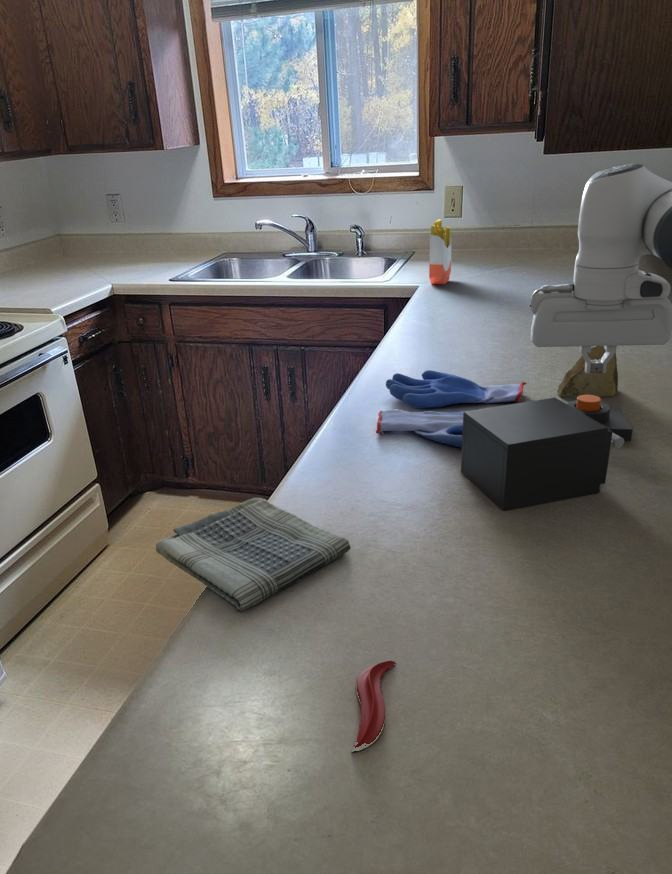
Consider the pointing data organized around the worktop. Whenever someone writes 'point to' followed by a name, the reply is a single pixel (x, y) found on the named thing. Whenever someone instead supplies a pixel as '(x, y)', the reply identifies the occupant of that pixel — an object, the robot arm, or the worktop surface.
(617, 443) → the drawer
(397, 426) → the pair of gloves
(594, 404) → the button
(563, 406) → the matte charcoal box
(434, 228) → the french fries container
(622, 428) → the push button unit
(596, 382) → the rock
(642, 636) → the worktop surface
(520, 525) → the worktop surface
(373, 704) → the cayenne pepper
